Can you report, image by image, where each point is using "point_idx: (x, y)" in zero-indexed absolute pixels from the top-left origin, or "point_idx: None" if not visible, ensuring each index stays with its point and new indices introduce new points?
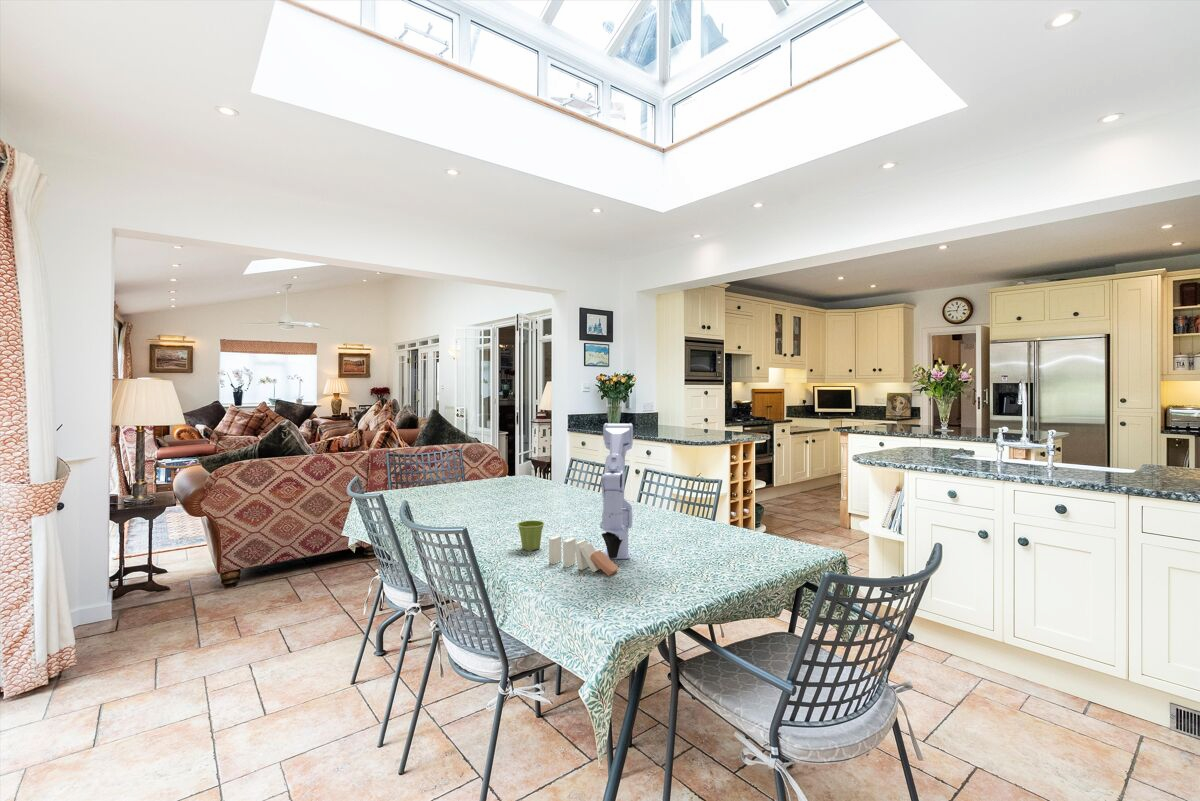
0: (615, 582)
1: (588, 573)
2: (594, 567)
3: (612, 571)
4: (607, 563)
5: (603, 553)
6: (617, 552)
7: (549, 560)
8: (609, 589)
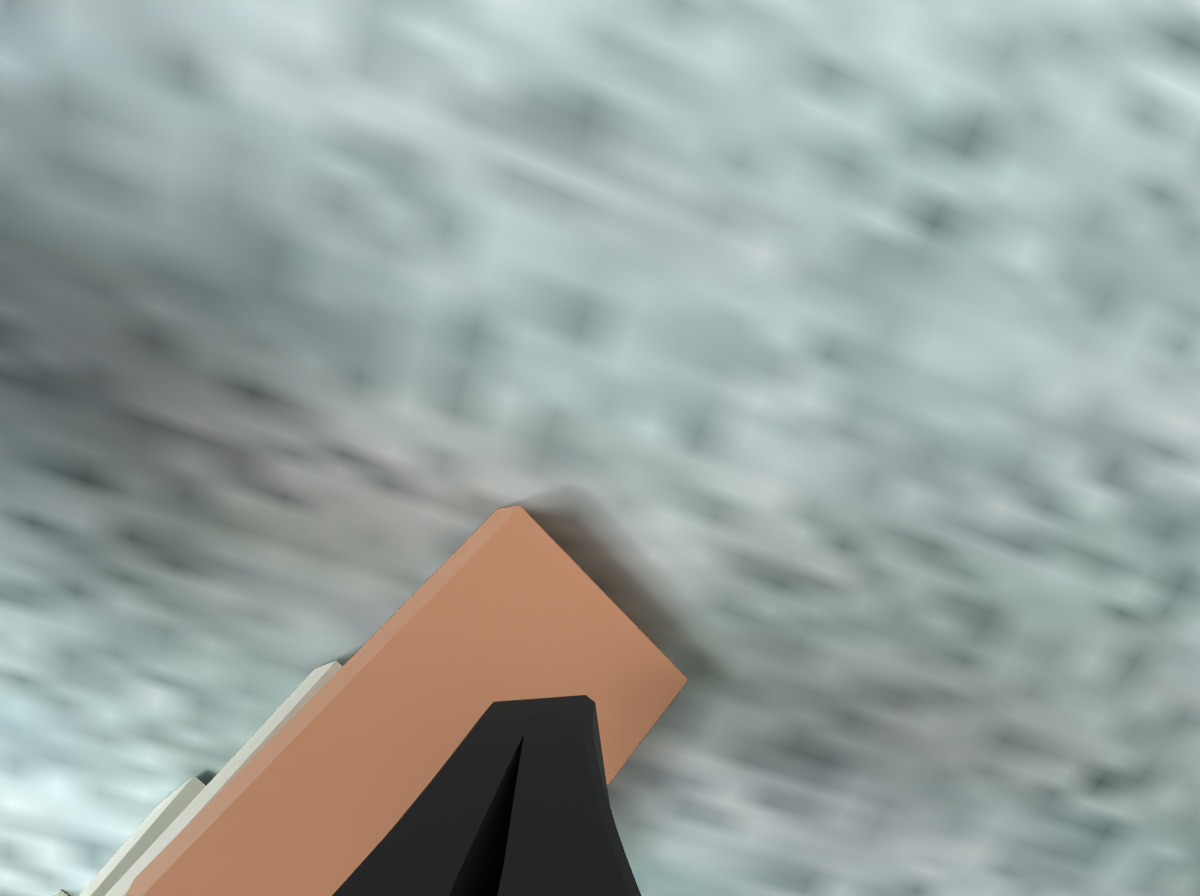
0: (930, 662)
1: None
2: None
3: (662, 653)
4: None
5: (208, 832)
6: (599, 778)
7: None
8: (1133, 805)
